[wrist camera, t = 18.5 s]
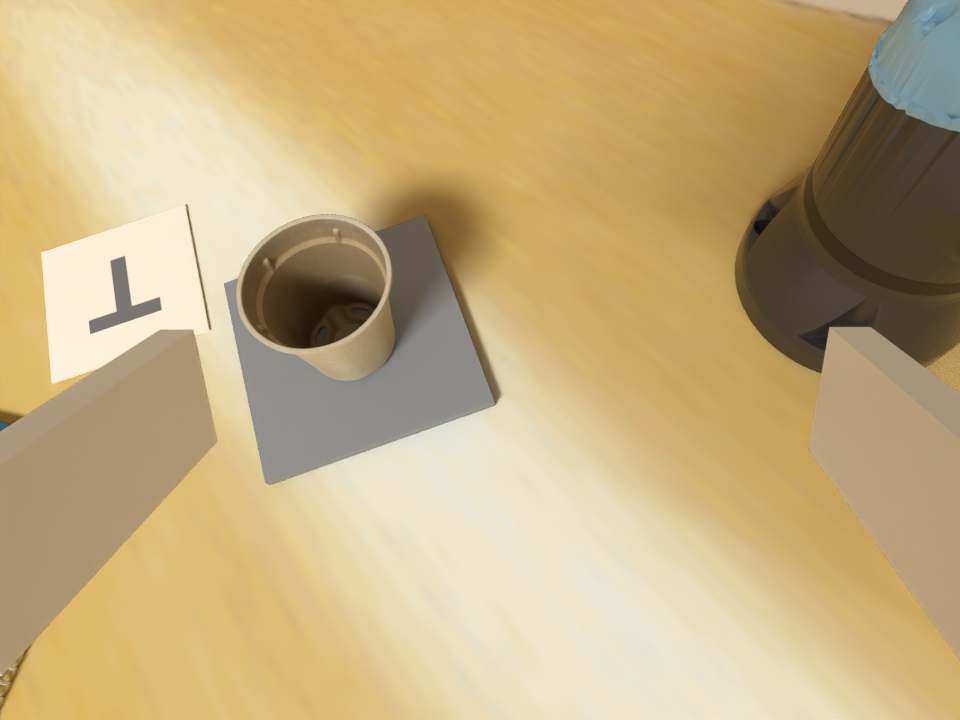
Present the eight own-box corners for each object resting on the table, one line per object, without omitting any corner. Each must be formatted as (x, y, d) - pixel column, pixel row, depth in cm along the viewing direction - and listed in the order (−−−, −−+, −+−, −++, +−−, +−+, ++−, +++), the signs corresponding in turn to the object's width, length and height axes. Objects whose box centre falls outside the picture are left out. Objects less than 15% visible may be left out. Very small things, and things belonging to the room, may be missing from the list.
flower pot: (282, 298, 49) (230, 232, 41) (406, 269, 49) (379, 198, 41) (293, 416, 45) (240, 369, 37) (428, 385, 45) (403, 332, 37)
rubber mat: (427, 221, 51) (425, 215, 51) (495, 405, 45) (494, 401, 44) (228, 288, 51) (223, 283, 50) (269, 485, 44) (265, 482, 44)
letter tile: (185, 205, 54) (184, 204, 54) (209, 330, 49) (208, 329, 49) (42, 253, 54) (41, 252, 53) (53, 384, 49) (51, 383, 49)
